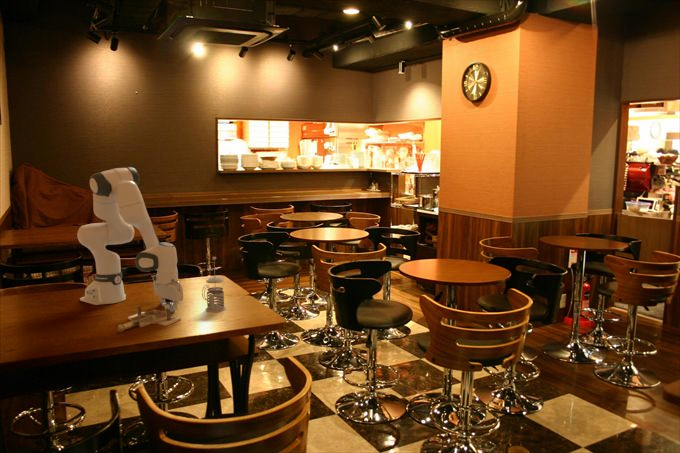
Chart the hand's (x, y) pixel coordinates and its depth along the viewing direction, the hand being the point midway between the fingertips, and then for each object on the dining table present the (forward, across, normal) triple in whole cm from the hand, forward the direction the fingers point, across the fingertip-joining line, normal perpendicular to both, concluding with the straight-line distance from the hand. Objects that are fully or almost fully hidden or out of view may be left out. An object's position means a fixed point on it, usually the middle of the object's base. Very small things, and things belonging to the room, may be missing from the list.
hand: (169, 307), depth 254 cm
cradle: (+3, -5, +13) cm, 14 cm away
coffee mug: (+3, +16, -9) cm, 19 cm away
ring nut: (+3, 0, 0) cm, 3 cm away
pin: (+3, -8, +23) cm, 25 cm away
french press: (+3, -10, -18) cm, 20 cm away
